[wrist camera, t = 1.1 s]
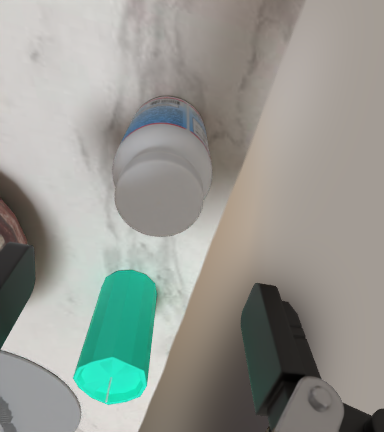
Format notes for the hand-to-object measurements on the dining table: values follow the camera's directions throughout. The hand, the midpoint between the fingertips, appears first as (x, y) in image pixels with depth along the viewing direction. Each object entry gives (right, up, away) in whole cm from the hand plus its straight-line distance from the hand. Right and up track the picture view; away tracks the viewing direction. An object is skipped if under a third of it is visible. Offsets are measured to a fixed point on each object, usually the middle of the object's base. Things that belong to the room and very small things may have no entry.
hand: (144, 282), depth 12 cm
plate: (-29, -25, +35) cm, 52 cm away
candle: (-5, -6, +24) cm, 25 cm away
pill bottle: (0, +9, +15) cm, 17 cm away
